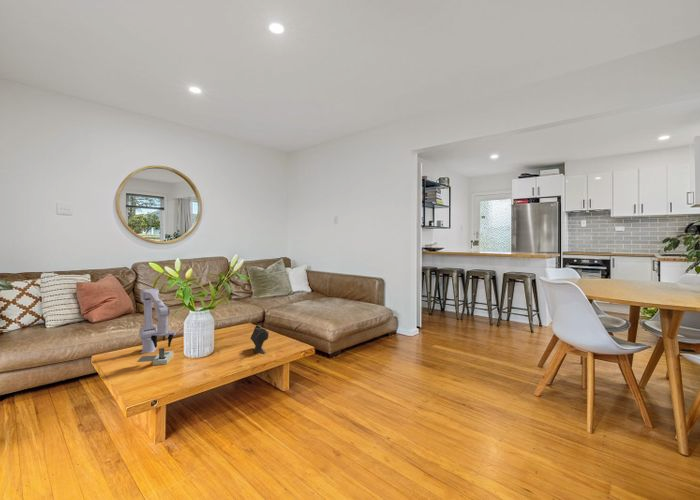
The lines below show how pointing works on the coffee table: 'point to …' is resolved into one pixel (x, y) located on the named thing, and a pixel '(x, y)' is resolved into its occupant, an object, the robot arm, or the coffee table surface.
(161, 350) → the steel peg
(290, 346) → the coffee table surface
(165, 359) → the socket block
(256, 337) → the dark grey faceted sculpture
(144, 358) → the rubber mat
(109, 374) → the coffee table surface
